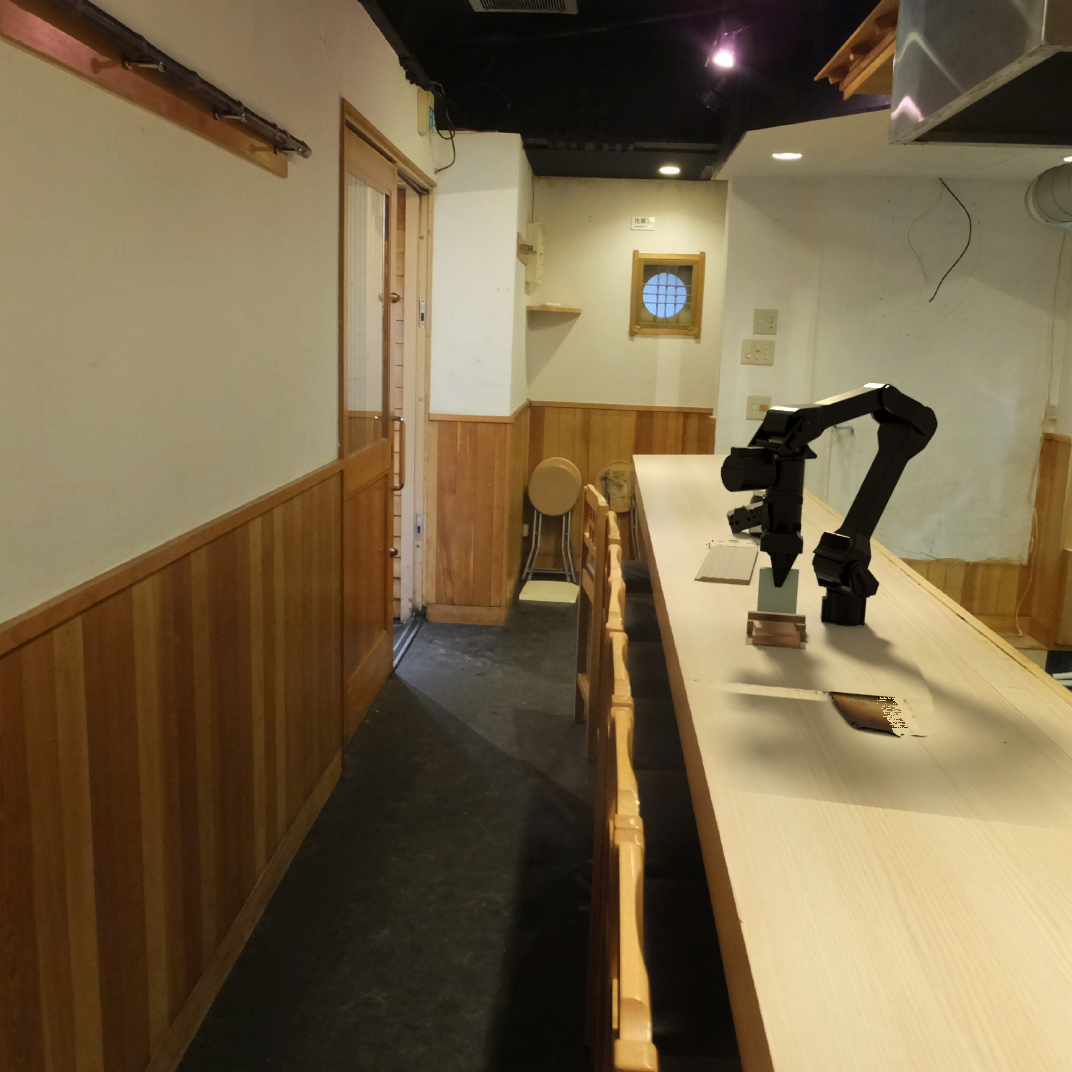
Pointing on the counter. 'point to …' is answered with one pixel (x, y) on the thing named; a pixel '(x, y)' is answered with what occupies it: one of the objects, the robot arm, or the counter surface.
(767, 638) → the offcut lower
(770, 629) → the offcut upper
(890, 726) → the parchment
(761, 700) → the counter surface
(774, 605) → the block
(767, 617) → the rack
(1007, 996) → the counter surface
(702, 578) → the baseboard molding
